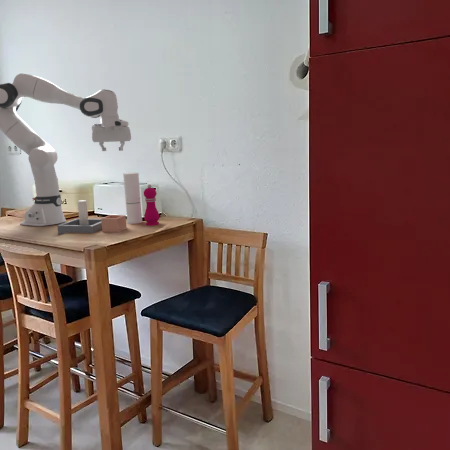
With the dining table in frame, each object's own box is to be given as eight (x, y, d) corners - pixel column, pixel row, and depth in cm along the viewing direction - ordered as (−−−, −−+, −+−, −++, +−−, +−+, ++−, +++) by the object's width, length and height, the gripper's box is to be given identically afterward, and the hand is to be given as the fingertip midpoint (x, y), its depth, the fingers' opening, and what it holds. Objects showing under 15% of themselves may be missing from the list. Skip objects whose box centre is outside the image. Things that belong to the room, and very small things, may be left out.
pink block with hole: (102, 233, 214) (101, 218, 213) (111, 229, 222) (109, 215, 220) (118, 234, 212) (117, 218, 211) (126, 230, 220) (125, 215, 218)
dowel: (78, 229, 220) (75, 201, 217) (82, 227, 224) (80, 200, 221) (86, 229, 220) (83, 202, 216) (90, 227, 223) (88, 200, 220)
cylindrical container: (143, 222, 236) (140, 172, 230) (140, 225, 229) (136, 173, 224) (129, 222, 236) (125, 172, 231) (125, 225, 229) (121, 174, 224)
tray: (58, 234, 217) (57, 225, 216) (77, 226, 232) (76, 218, 231) (93, 235, 212) (92, 226, 211) (110, 227, 227) (109, 219, 226)
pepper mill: (153, 228, 221) (150, 185, 217) (141, 227, 225) (138, 185, 221) (163, 225, 227) (160, 183, 223) (151, 224, 231) (148, 183, 227)
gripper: (88, 123, 237) (91, 151, 240) (125, 122, 232) (127, 150, 235) (94, 123, 243) (97, 151, 246) (131, 122, 238) (133, 150, 241)
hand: (112, 150), depth 240 cm, fingers open, 8 cm apart
